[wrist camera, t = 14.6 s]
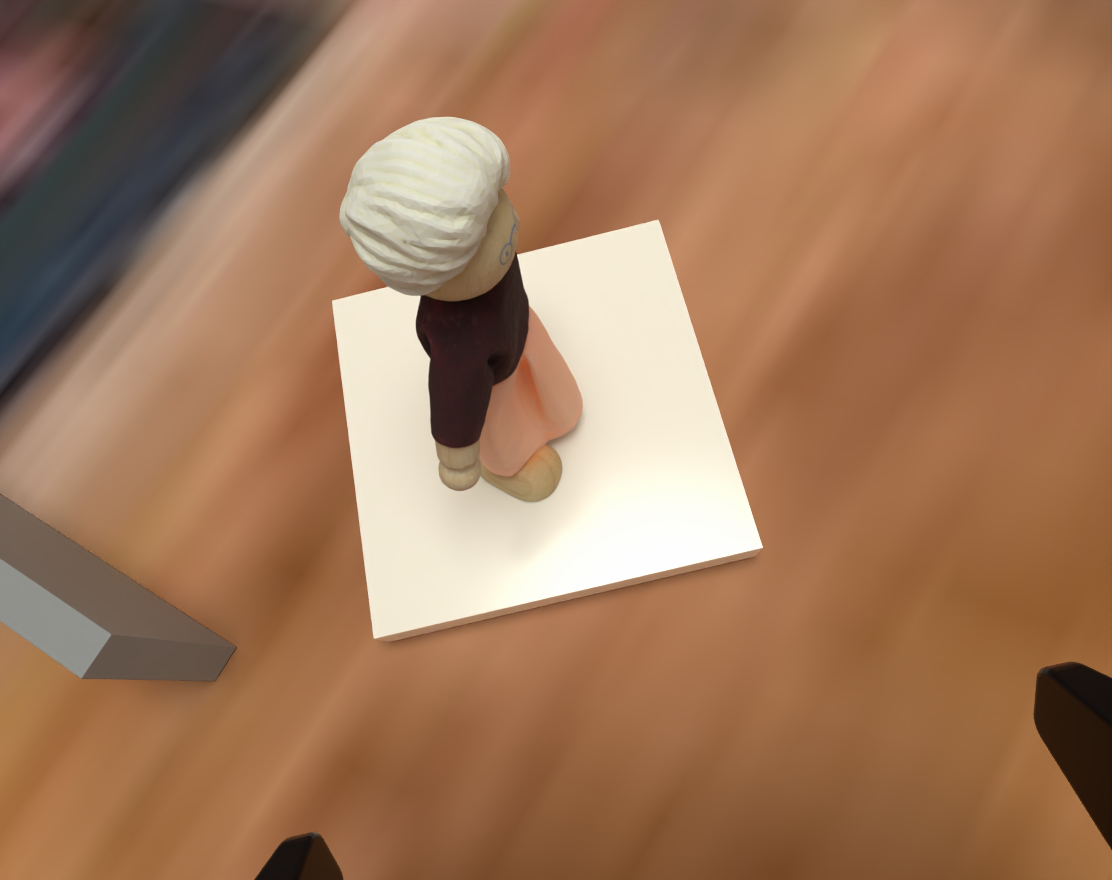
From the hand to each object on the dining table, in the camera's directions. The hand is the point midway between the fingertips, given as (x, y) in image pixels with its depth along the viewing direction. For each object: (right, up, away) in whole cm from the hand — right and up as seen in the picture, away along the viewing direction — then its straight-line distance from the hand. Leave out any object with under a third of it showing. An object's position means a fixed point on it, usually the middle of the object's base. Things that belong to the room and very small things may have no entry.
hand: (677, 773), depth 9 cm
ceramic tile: (-2, +4, +16) cm, 17 cm away
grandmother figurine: (-2, +5, +15) cm, 16 cm away
